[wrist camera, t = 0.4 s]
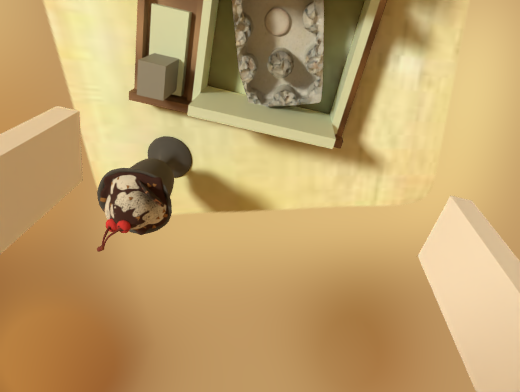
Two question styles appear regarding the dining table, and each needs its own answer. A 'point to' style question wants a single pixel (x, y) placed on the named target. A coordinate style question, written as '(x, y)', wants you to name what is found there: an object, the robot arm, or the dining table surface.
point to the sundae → (143, 189)
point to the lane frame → (194, 4)
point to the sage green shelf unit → (277, 117)
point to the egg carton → (280, 50)
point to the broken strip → (165, 54)
